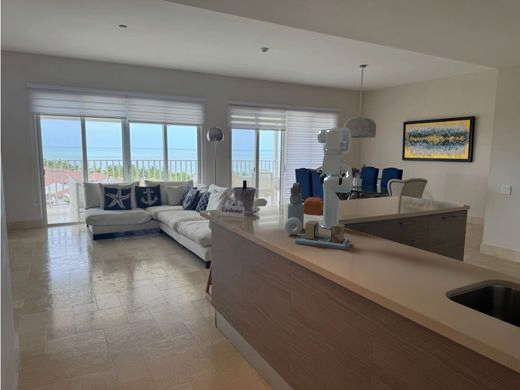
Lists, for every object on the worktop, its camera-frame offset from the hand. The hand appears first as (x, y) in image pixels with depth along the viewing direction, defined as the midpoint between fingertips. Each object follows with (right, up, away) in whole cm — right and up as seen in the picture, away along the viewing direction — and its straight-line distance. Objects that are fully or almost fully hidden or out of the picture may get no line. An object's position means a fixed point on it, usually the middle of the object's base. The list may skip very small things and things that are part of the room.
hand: (331, 184), depth 192 cm
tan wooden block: (0, -30, -16) cm, 33 cm away
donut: (-20, -29, +6) cm, 35 cm away
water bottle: (-18, -27, +21) cm, 38 cm away
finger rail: (-6, -31, -13) cm, 34 cm away
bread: (+3, -19, +83) cm, 85 cm away
